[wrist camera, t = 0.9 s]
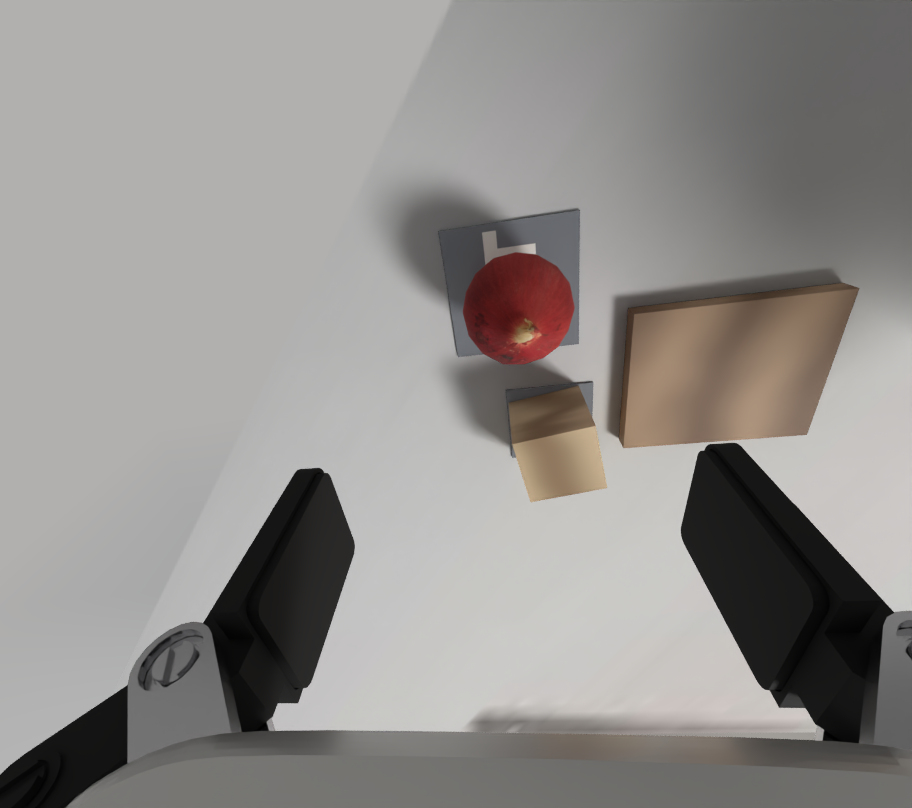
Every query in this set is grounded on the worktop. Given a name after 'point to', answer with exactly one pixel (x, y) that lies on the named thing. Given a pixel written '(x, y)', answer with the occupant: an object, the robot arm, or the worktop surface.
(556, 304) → the onion
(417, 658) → the worktop surface
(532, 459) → the oak block
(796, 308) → the board
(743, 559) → the robot arm
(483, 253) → the tile
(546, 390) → the code tile
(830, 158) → the worktop surface
